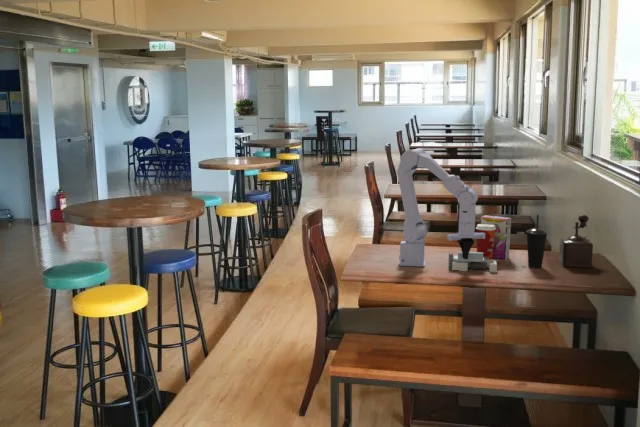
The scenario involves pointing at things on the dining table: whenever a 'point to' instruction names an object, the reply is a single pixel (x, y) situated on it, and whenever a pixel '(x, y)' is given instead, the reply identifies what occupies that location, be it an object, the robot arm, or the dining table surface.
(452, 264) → the pale grey rectangular block
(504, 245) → the candy bar box
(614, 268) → the dining table surface
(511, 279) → the dining table surface
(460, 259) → the cover
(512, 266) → the dining table surface
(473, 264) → the gray tin can
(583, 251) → the manual coffee grinder
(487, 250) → the paper cup
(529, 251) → the drinking cup
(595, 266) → the dining table surface
